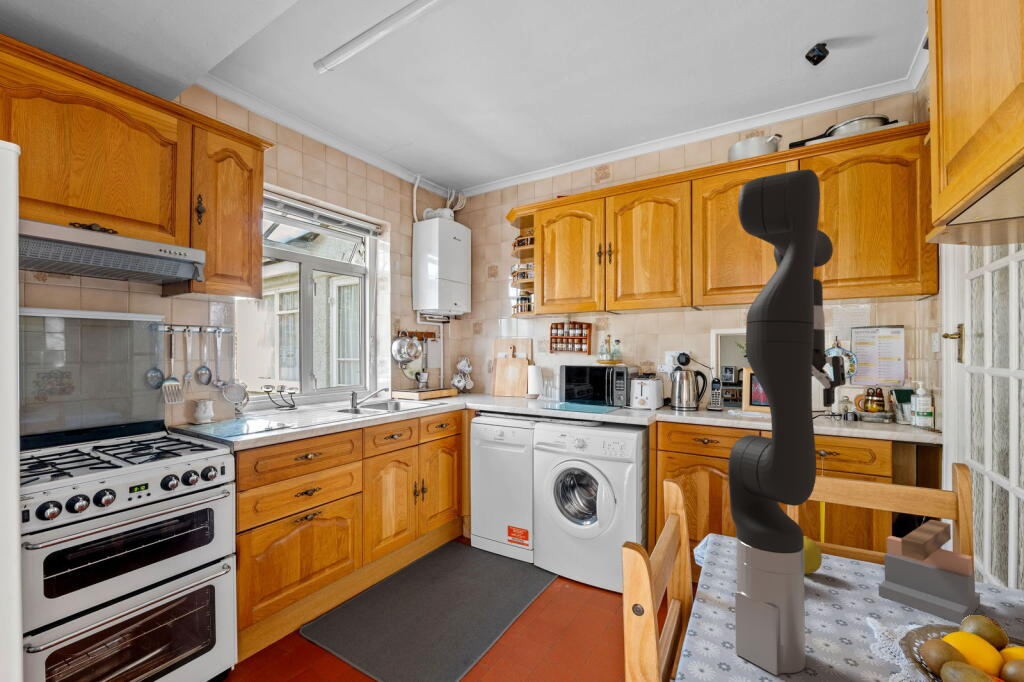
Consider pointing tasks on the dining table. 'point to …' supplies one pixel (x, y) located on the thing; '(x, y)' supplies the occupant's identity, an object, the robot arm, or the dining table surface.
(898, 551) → the fulcrum stand
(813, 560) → the lemon
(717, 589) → the dining table surface
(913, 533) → the walnut stick
